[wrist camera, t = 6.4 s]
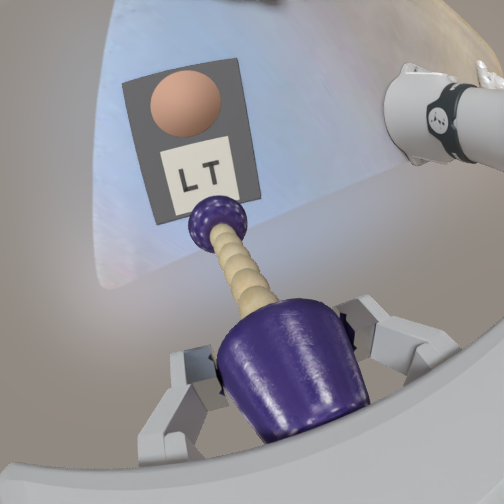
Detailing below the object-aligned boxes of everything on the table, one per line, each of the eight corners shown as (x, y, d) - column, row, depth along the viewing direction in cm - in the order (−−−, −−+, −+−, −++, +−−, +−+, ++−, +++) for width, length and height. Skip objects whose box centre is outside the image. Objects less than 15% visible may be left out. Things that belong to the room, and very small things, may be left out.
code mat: (236, 58, 31) (236, 57, 31) (260, 197, 41) (261, 198, 40) (122, 83, 29) (121, 83, 29) (156, 224, 39) (156, 224, 38)
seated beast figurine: (492, 74, 40) (531, 80, 29) (491, 105, 43) (530, 113, 33) (474, 58, 37) (516, 61, 27) (473, 91, 41) (516, 97, 30)
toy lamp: (245, 184, 20) (411, 360, 5) (261, 241, 22) (388, 435, 8) (179, 206, 20) (206, 445, 5) (201, 262, 22) (258, 489, 7)
